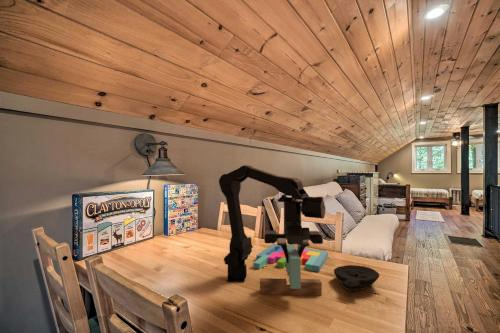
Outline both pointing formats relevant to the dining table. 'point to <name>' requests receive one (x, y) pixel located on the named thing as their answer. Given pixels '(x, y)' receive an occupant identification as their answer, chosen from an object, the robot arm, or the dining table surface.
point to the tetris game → (308, 257)
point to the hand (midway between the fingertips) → (292, 263)
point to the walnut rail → (282, 288)
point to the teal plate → (293, 267)
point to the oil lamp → (356, 276)
